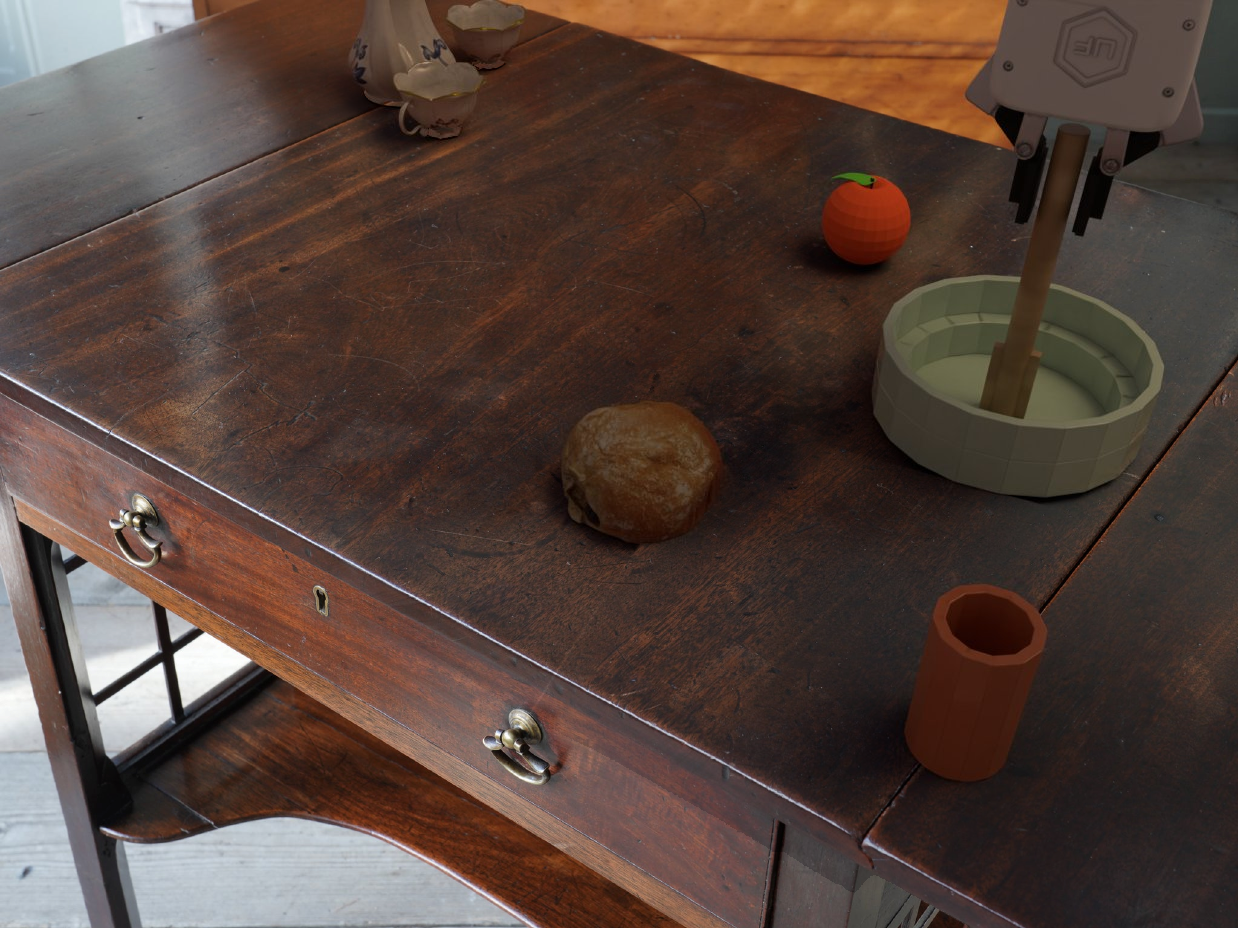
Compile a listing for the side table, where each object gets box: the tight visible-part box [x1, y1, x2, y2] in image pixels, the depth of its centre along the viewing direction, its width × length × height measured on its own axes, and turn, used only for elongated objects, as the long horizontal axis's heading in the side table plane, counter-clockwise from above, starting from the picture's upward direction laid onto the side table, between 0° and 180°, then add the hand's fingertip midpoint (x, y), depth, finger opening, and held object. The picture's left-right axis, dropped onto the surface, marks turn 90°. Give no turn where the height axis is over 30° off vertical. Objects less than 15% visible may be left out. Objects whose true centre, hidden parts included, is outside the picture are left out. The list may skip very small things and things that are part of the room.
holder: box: [903, 583, 1049, 782], centre depth 58 cm, size 5×5×9 cm
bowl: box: [871, 274, 1165, 498], centre depth 80 cm, size 17×17×6 cm
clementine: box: [820, 172, 912, 266], centre depth 97 cm, size 8×7×7 cm
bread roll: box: [560, 400, 724, 545], centre depth 75 cm, size 10×10×8 cm
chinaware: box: [347, 0, 527, 137], centre depth 119 cm, size 28×17×17 cm, turn 176°
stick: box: [979, 122, 1092, 419], centre depth 76 cm, size 3×2×20 cm, turn 66°
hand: (1052, 217), depth 73 cm, fingers closed
